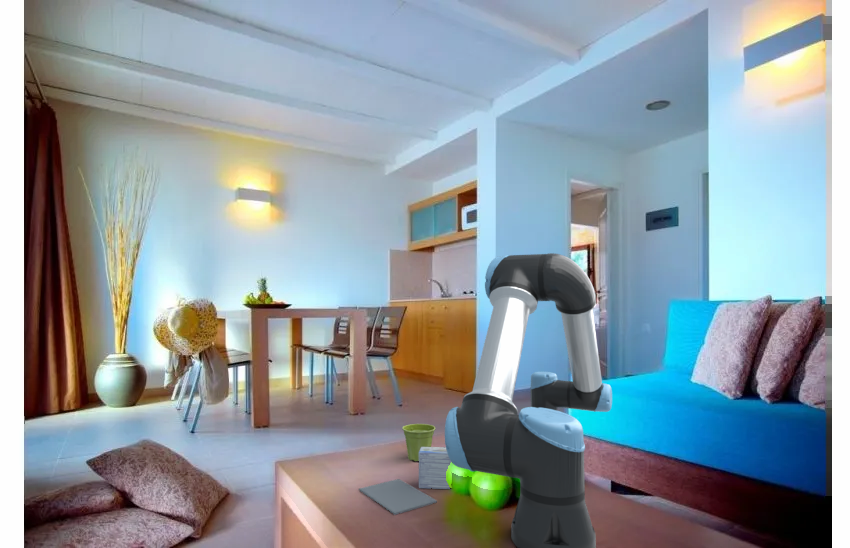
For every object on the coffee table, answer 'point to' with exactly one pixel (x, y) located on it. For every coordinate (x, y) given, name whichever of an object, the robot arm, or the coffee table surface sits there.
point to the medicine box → (433, 467)
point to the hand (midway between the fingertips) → (453, 447)
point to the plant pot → (417, 438)
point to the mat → (397, 496)
